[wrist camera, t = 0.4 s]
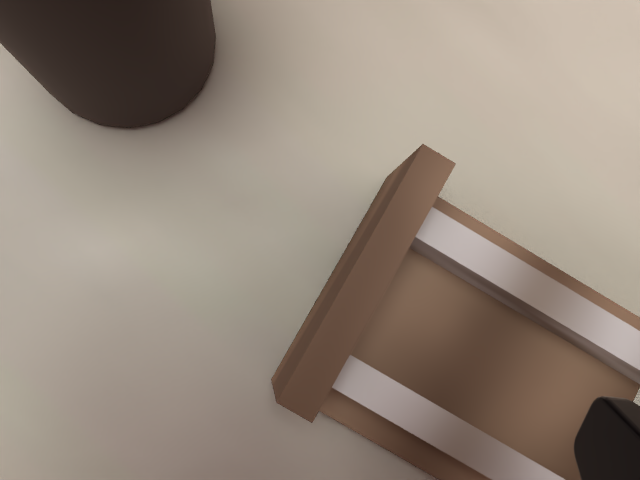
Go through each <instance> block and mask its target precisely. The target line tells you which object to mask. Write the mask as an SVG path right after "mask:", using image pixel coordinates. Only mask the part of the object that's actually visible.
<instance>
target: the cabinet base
mask: <svg viewBox="0 0 640 480" xmlns="http://www.w3.org/2000/svg"><path fill="white" fill-rule="evenodd" d="M454 166H455V163H454V162H452V161H450V160H449V159H447V158H445V157H444V156H442V155H441V154H439V153H437V152H436V151H434V150H432V149H431V148H429V147H427V146H426V145H424V144H422V145H421V146H420V147H419V148H418V149H417V150H416V151H415V152H414V153H413V154H412V155H410V156H409V157H408V158H407V159H406V160H405V161H404V162H403V163H402V164H401V165H400V166H398V167H397V168H396V169H395V170H394V171H393V172H392V173H391V174H390V175H389V176H388V177H387V178H386V180H385V181H384V183H383V185H382V187H381V188H380V190H379V192H378V194H377V195H376V197H375V199H374V201H373V202H372V204H371V206H370V208H369V209H368V211H367V213H366V215H365V216H364V218H363V220H362V222H361V223H360V225H359V227H358V229H357V230H356V232H355V234H354V236H353V237H352V239H351V241H350V243H349V244H348V246H347V248H346V250H345V251H344V253H343V255H342V257H341V258H340V260H339V262H338V264H337V265H336V267H335V269H334V271H333V272H332V274H331V276H330V278H329V279H328V281H327V283H326V285H325V286H324V288H323V290H322V292H321V293H320V295H319V297H318V299H317V300H316V302H315V304H314V306H313V307H312V309H311V311H310V313H309V314H308V316H307V318H306V320H305V321H304V323H303V325H302V327H301V328H300V330H299V332H298V334H297V335H296V337H295V339H294V341H293V342H292V344H291V346H290V348H289V349H288V351H287V353H286V355H285V356H284V358H283V360H282V362H281V363H280V365H279V367H278V369H277V370H276V372H275V374H274V376H273V377H272V379H271V380H272V385H273V389H274V394H275V398H276V403H278V404H280V405H282V406H283V407H285V408H287V409H289V410H290V411H292V412H294V413H296V414H297V415H299V416H301V417H303V418H304V419H306V420H308V421H310V422H311V423H312V422H313V420H314V419H315V417H316V415H317V413H318V411H320V412H322V413H324V414H326V415H327V416H329V417H331V418H333V419H334V420H336V421H338V422H340V423H341V424H343V425H345V426H347V427H348V428H350V429H352V430H353V431H355V432H357V433H359V434H360V435H362V436H364V437H366V438H367V439H369V440H371V441H373V442H374V443H376V444H378V445H380V446H381V447H383V448H385V449H387V450H388V451H390V452H392V453H394V454H395V455H397V456H399V457H401V458H402V459H404V460H406V461H408V462H409V463H411V464H413V465H414V466H416V467H418V468H420V469H421V470H423V471H425V472H427V473H428V474H430V475H432V476H434V477H435V478H437V479H439V480H581V477H580V474H579V470H578V467H577V463H576V460H575V455H574V441H575V437H576V435H577V433H578V431H579V429H580V426H581V424H582V422H583V420H584V418H585V416H586V414H587V412H588V410H589V408H590V406H591V404H592V402H593V401H594V400H595V399H596V398H598V397H601V396H609V397H618V398H626V399H629V400H631V401H633V400H634V398H635V396H636V394H637V392H638V390H639V388H640V317H638V316H636V315H635V314H633V313H631V312H630V311H628V310H626V309H625V308H623V307H621V306H620V305H618V304H616V303H615V302H613V301H611V300H610V299H608V298H606V297H605V296H603V295H601V294H600V293H598V292H596V291H595V290H593V289H591V288H590V287H588V286H586V285H585V284H583V283H581V282H580V281H578V280H576V279H575V278H573V277H571V276H570V275H568V274H566V273H565V272H563V271H561V270H560V269H558V268H556V267H555V266H553V265H551V264H550V263H548V262H546V261H545V260H543V259H541V258H540V257H538V256H536V255H535V254H533V253H531V252H530V251H528V250H526V249H525V248H523V247H521V246H520V245H518V244H516V243H515V242H513V241H511V240H510V239H508V238H506V237H505V236H503V235H501V234H500V233H498V232H496V231H495V230H493V229H491V228H490V227H488V226H486V225H485V224H483V223H481V222H480V221H478V220H476V219H475V218H473V217H471V216H470V215H468V214H466V213H465V212H463V211H461V210H460V209H458V208H456V207H455V206H453V205H451V204H450V203H448V202H446V201H445V200H443V199H441V198H440V197H438V195H439V193H440V191H441V189H442V188H443V186H444V184H445V182H446V180H447V179H448V177H449V175H450V173H451V171H452V170H453V168H454Z"/></svg>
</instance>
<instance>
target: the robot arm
mask: <svg viewBox="0 0 640 480" xmlns="http://www.w3.org/2000/svg"><path fill="white" fill-rule="evenodd" d="M574 455H575V460H576V463H577V467H578V470H579V474H580V477H581V480H640V406H638V405H637V404H635V403H634V402H633V401H631V400H629V399H626V398H618V397H609V396H601V397H598V398H596V399H595V400H594V401H593V402H592V404H591V406H590V408H589V410H588V412H587V414H586V416H585V418H584V420H583V422H582V424H581V426H580V429H579V431H578V433H577V435H576V437H575V441H574Z"/></svg>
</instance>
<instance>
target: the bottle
mask: <svg viewBox="0 0 640 480" xmlns="http://www.w3.org/2000/svg"><path fill="white" fill-rule="evenodd" d="M215 39H216V36H215V29H214V22H213V15H212V8H211V1H210V0H0V43H1V44H2V45H3V46H4V47H5V48H6V49H7V50H8V51H9V52H10V53H11V54H12V55H13V56H14V57H15V58H16V59H17V60H18V61H19V62H20V63H21V64H22V65H23V66H24V67H25V68H26V69H27V70H28V72H29V73H30V74H31V75H32V76H33V77H34V78H35V79H36V80H37V81H38V82H39V83H40V84H41V85H42V86H43V87H44V88H45V89H46V90H47V91H48V92H49V93H50V94H51V95H52V96H54V97H55V98H56V99H57V100H58V101H59V102H61V103H62V104H63V105H64V106H65V107H66V108H68V109H69V110H70V111H71V112H72V113H74V114H77V115H79V116H81V117H84V118H86V119H88V120H91V121H93V122H95V123H98V124H101V125H110V126H120V127H130V128H131V127H136V126H141V125H146V124H151V123H156V122H159V121H161V120H163V119H165V118H167V117H169V116H170V115H172V114H174V113H176V112H178V111H180V110H181V109H183V108H184V107H185V106H186V105H187V104H188V103H189V101H190V100H191V99H192V98H193V97H194V96H195V95H196V94H197V93H198V92H199V91H200V90H201V89H202V87H203V84H204V82H205V80H206V78H207V76H208V73H209V71H210V69H211V67H212V65H213V59H214V49H215Z"/></svg>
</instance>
